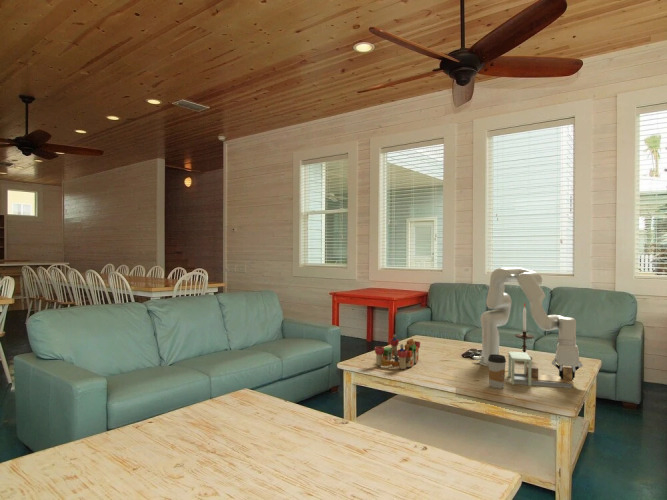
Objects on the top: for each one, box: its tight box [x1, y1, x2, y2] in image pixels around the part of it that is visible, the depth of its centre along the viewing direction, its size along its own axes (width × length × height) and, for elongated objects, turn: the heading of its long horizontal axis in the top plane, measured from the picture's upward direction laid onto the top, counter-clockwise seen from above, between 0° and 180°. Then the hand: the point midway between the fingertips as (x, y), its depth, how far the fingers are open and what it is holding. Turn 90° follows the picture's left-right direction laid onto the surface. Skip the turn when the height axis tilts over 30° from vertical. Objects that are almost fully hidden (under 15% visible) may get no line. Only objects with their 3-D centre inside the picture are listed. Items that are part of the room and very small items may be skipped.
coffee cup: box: [488, 354, 507, 389], centre depth 212 cm, size 8×8×15 cm
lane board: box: [514, 372, 573, 389], centre depth 218 cm, size 26×12×2 cm, turn 74°
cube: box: [526, 364, 539, 378], centre depth 219 cm, size 5×5×5 cm
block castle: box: [374, 334, 421, 370], centre depth 257 cm, size 30×20×14 cm
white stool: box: [507, 351, 532, 387], centre depth 221 cm, size 9×15×13 cm, turn 164°
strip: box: [526, 365, 575, 387], centre depth 217 cm, size 20×10×7 cm, turn 74°
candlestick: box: [514, 302, 535, 361], centre depth 265 cm, size 11×11×35 cm
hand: (566, 378), depth 215 cm, fingers closed on strip, 4 cm apart
